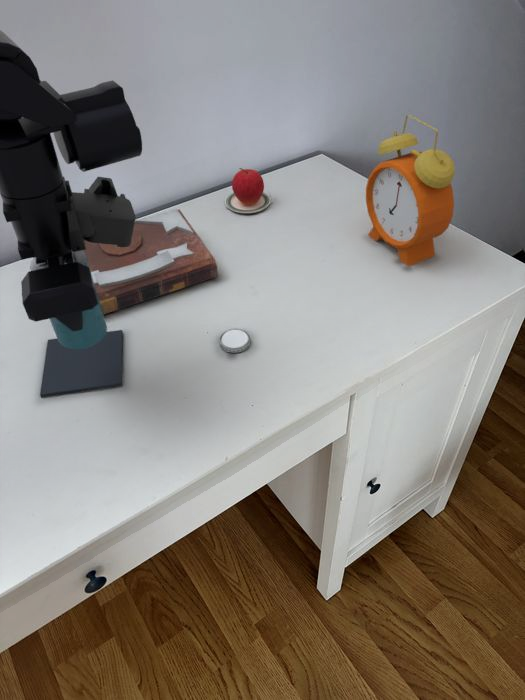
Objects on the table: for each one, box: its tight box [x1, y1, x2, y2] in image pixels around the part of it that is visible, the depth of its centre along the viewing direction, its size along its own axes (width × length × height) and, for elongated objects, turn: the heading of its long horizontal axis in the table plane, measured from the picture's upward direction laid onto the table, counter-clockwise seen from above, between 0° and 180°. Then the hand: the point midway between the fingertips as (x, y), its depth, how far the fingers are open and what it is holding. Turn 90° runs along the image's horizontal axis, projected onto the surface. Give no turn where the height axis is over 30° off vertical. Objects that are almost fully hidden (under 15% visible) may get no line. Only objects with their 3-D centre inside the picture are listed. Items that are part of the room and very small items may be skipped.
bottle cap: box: [219, 328, 251, 353], centre depth 76 cm, size 4×4×1 cm
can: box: [29, 250, 108, 349], centre depth 61 cm, size 6×6×10 cm
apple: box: [224, 167, 271, 214], centre depth 99 cm, size 8×8×6 cm
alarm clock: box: [365, 114, 456, 267], centre depth 84 cm, size 13×6×20 cm, turn 30°
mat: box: [39, 329, 124, 399], centre depth 74 cm, size 10×10×1 cm
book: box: [82, 208, 218, 315], centre depth 85 cm, size 23×16×5 cm
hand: (75, 312), depth 63 cm, fingers closed on can, 5 cm apart
